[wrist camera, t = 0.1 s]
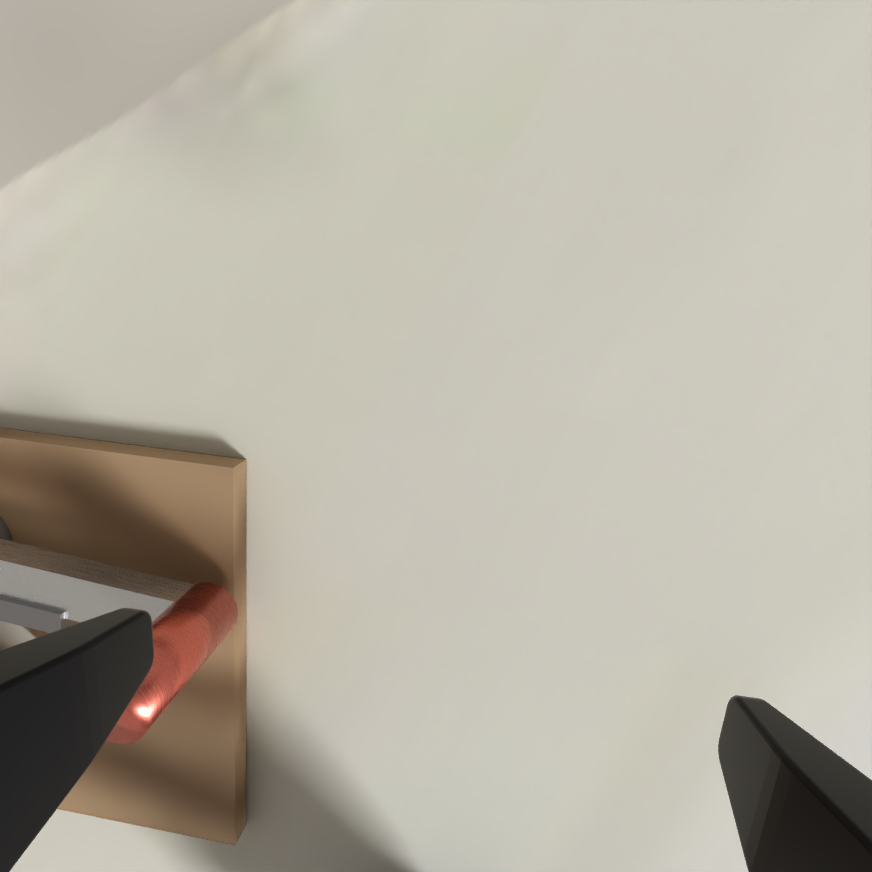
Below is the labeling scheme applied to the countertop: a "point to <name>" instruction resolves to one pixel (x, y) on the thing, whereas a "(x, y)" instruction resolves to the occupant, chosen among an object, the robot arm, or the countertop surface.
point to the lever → (111, 590)
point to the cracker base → (163, 556)
